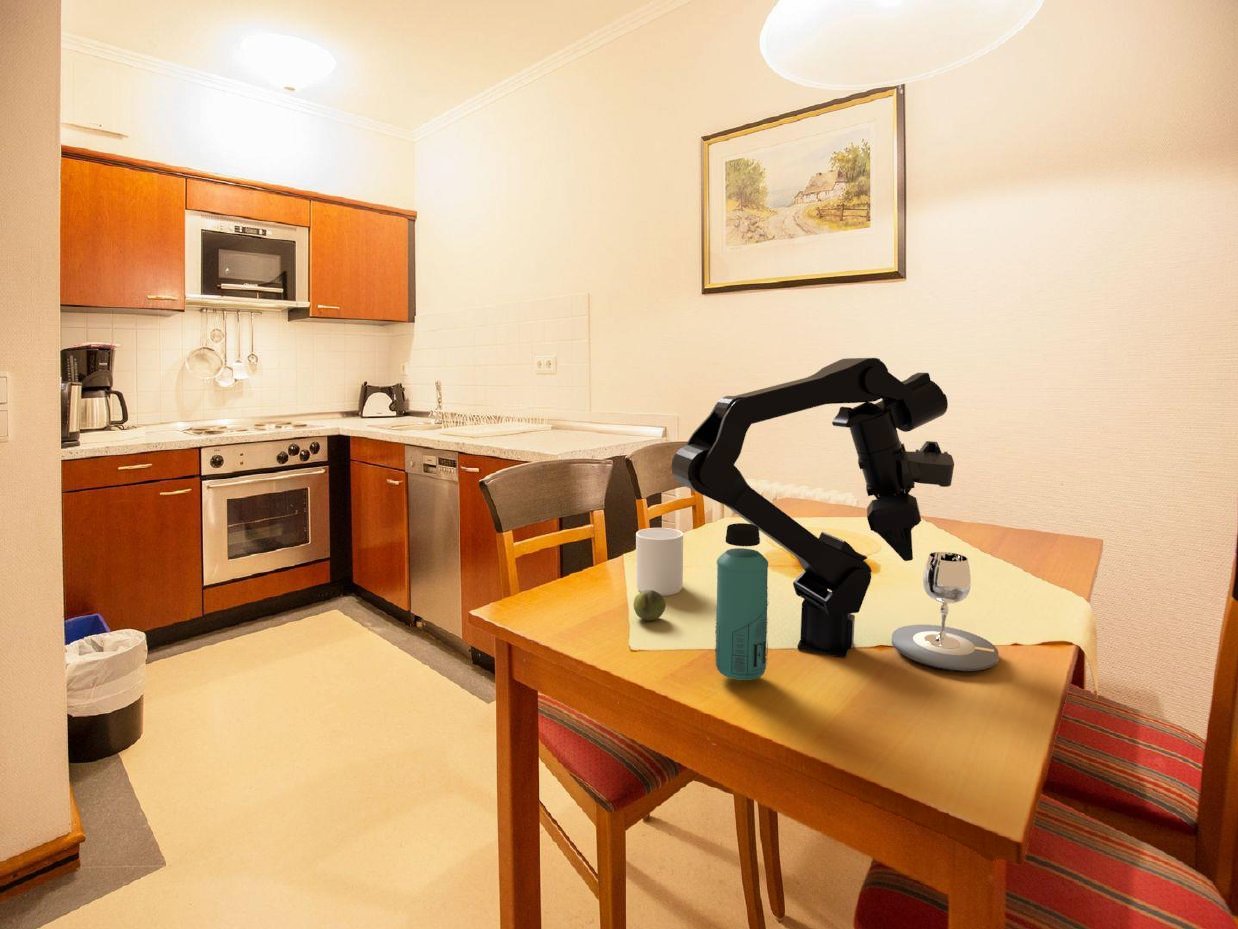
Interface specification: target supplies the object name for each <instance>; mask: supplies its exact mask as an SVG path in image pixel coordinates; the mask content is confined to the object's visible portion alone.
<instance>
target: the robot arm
mask: <svg viewBox="0 0 1238 929" xmlns="http://www.w3.org/2000/svg"><path fill="white" fill-rule="evenodd" d="M879 400H880V401H879ZM874 402H876V403H874ZM859 403H860V404H859ZM832 404H836V405H837V404H858V405H855V406H854V407H850V406H849V407H848V406H840V407H839V409H838V410H839V411H838V413H837V414H836V416H835V417H834V419H833V420H832V423H831V424H832V426H833V427H839V428H848V429H849V431H850V434H851V438H852V441H853V443H854V448H855V450H856V454H857V458H858V460H857V463H858V467H859V469H860V470H861V471H862V474H863V479H864V481H865V484H866V486H865V487H866V489H865V490H866V493H867V496H868V497H871V496H874V498H875V499H872V500H871V501H870V503H869V504H868V506H867V507H866V519H867V522H868V525H869V529H870V531H873V532H874V533H877V534H878V536H880V538H882V539H883V540H884V541H885V542H886V543H887V544H888V546H890V548H891V549H893V551H894V552H895V553H896V554H897V555H898V556H899V557H900V558H901V559H902V560H903V561H904V562H910V561H913V559H914V558H913V557H914V556H913V538H912V530H913V529H914V527H916V526H918V525H919V524H920V523H921V522H922V516H921V511H920V508H919V504H918V500H917V497H916V496H914V495H912V494H910V492H911V491H912V489H915V487H916V486H915V483H917V484H924V485H937V486H939V487H943V488H948V487H951V486H952V481H953V476H954V475H953V474H954V469H955V468H954V467H955V461H954V458H953V456H952V455H951V454H949V453H948V451H943V452H942V450H941V447H940V445H939V444H938V441H930V440H929V441H925V442H924V443H923V444H922V445H921V448H920V449H915V451H909V450H906V447H905V443H902V441H901V440H900V437H899V434H898V430H899V431H902V432H904V433H905V432H906V433H907V432H910V431H912V430H915V429H917V428H920V427H922V426H924V425H925V424H928V423H930V422H932V421H935V420H937V419H938V418H940V417H942V416H944V415H945V414H946V412H947V411H948V405H949V403H948V398H947V395H946V394H945V393H944V392H943V389H942V388H941V387H940V386H939V385H938V384H937V383H936V382H934V381H933V380H931V376H930V373H929V372H917V373H914V374H912V375H911V376H909V377H908V378H906V379H904V380H902V381H901V380H900V379H899V378H897V377H896V376H895V375H893V374H892V373H891V372H890V371H889V369H888V367H887V365H886V364H885V363H884V362H883V361H882V360H881V359H880V358H878V357H858V358H857V357H856V358H855V357H853V358H852V357H851V358H850V357H849V358H848V357H846V358H841V359H839V360H836V361H834V362H832V363H831V364H828V365H826V366H823V367H822V368H821V369H820V370H818V371H817V372H815V373H814V374H812V375H810V376H809V375H808V376H807V377H803V378H799V379H795V380H792V381H788V382H784V383H783V382H782V383H780V384H776V385H771V386H768V387H765V388H761V389H756V390H753V391H750V392H744V393H741V394H737V395H725V396H723V397H721V398H720V399H718V401H716V404H715V405H714V406H713V408H712V410H711V412H710V413H709V415H708V416H707V417H706V418H705V420H703V421H702V423H701V424H700V425H699V426H698V427H697V428H696V429H695V430H694V432H693V433H692V434H691V435H690V437H689V439H688V440H687V442H686V444H685V445H684V446H682V447H680V448H679V449H678V450H677V451H676V452H675V454H674V455H673V458H672V459H671V460H672V462H671V475H672V477H673V479H674V480H675V481H676V482H677V484H678V483H679V484H680V485H682V486H684V487H685V488H687V489H689V490H692V491H694V492H697V493H698V494H701V495H702V496H705V497H707V498H709V499H711V500H713V501H715V502H717V503H720V504H722V505H724V506H725V507H727V508H728V509H729V510H730V511H732V512H734V513H735V514H737V515H738V516H739V517H740V518H742V519H743V520H744V521H746V522H747V523H748V524H752V525H756V526H758V527H759V532H761V533H763V534H764V535H765V536H767V537H768V538H769V539H771V540H772V541H774V542H775V543H776V544H777V545H779V547H782V548H783V549H785V550H786V551H787V552H788V553H790V554H791V555H793V556H794V557H795V558H796V560H797V561H798V563H799V564H800V566H801V568H802V569H803V570H802V572H801V573H800V574H799V575H798V576H797V578H796V579H795V580H794V581H793V582H792V585H793V589H794V592H795V594H796V596H798V597H800V598H802V599H803V601H802V603H801V613H800V614H801V615H800V617H801V618H800V639H799V641H798V643H797V645H796V646H797V647H796V648H797V649H798V650H800V651H806V652H812V653H816V654H821V655H827V656H833V657H839V658H847V656H848V652H849V650H851V649H852V648H853V646H854V645H853V644H854V641H855V640H854V638H855V622H856V619H855V618H856V617H855V614H856V613H857V614H859V612H860V609H861V607H862V605H863V602H864V600H865V597H866V594H867V591H868V589H869V587H870V584H871V579H872V572H873V571H872V567H871V566H870V564H868V563H867V562H866V561H865V560H867V559H868V556H867V555H864V554H862V553H859V552H858V551H856V550H855V548H853V547H852V545H851V544H850V543H848V541H845V540H843V539H841V538H838V537H836V536H835V535H832V534H829V533H827V532H824V531H821V532H820V535H819V537H817V536H816V535H814V534H813V533H812V532H811V531H809V530H808V529H807V528H805V527H804V526H803V525H801V524H800V523H798V521H796V520H794V518H792V517H790V516H789V515H788V514H787V513H785V512H784V511H783V510H781V509H780V508H779V507H778V506H776V505H775V504H773V503H772V502H771V501H769V500H768V499H767V498H765V497H764V496H763V495H761V494H760V493H759V492H757V490H755V489H753V488H752V487H751V486H750V485H749V484H748V482H747V480H746V479H745V477H744V476H743V474H742V473H741V471H740V470H739V468H737V466H735V465H736V464H735V463H736V462H737V460H738V459H739V457H740V455H741V452H742V450H743V446H744V443H745V439H746V436H747V433H748V430H749V429H750V427H751V425H753V424H757V423H760V422H765V421H767V420H772V419H776V418H779V417H784V416H787V415H789V414H795V413H798V412H802V411H805V410H809V409H814V408H817V407H821V406H824V405H832ZM897 429H898V430H897Z"/></svg>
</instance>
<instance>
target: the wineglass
mask: <svg viewBox="0 0 1238 929" xmlns="http://www.w3.org/2000/svg"><path fill="white" fill-rule="evenodd" d="M970 568H971V567H970V563H969V559H968V557H967V556H964V555H963V554H960V553H955V552H948V551H934V552H931V553H929V554H928V557H927V560H926V563H925V566H924V570H923V576H922V583H923V584H922V585H923V589H924V592H925V593H926V594H927V596H929V597H930V598H931V599H933V600H935V601H936V602H939V603H941V606H940V607H939V609H940V614H941V625H940V626H941V631H940V633H939V634H930V635H927V636H925V637H924V640H925V641H926V642H927V643H929V644H931V645H933V646H936V647H941V648H957V647H959V646H960V642H959V641H958V640H956V639H955V638H952V637H949V636H947V635H946V633H945V627H946V621H947V618H948V617H947V616H948V614H949V606H948V604H955V603H959V602H961V601H963V600H965V599H966V598H967V596H968V595H969V593H970V591H971V587H972V575H971V569H970Z"/></svg>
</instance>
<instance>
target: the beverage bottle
mask: <svg viewBox="0 0 1238 929" xmlns="http://www.w3.org/2000/svg"><path fill="white" fill-rule="evenodd" d="M725 533H726V535H725V543H726V544H728V545H731V546H736V547H737V548H729V549H727V550H726V551H724V552H723V553H722V554H721V555H719V557H717V560H716V565H717V566H716V567H717V568H716V572H717V574H716V580H717V581H716V606H715V607H716V608H715V612H716V613H715V621H716V622H715V627H714V628H715V633H714V634H715V635H714V637H715V639H714V640H715V644H714V648H715V649H714V652H715V655H714V656H715V658H714V660H715V666H716V669H717V671H718V672H719V673H720V674H721V675H722V676H725V677H727V678H729V679H732V680H733V679H734V680H739V681H750V680H751V681H752V680H755V679H759V678H761V677H762V676H764V674H765V672H766V669H767V664H768V657H767V656H768V651H769V650H768V648H769V645H768V644H769V640H768V635H767V634H768V631H769V630H768V629H769V628H768V624H769V620H768V606H769V604H770V602H769V599H770V598H769V593H770V592H769V590H768V589H769V587H768V578H769V577H768V574H769V573H768V569H769V568H768V567H769V561H768V559H767V558H766V557H765V556H764V555H762V553H760V552H759V550H755V549H752V548H743V547H755V546H758V545H759V544H761V538H760V530H759V527H758V526H756V525H752V524H750V523H742V522H741V523H739V522H736V523H730V524H728V525H727V527H726V532H725ZM738 547H741V548H738ZM768 592H769V593H768ZM768 598H769V599H768Z"/></svg>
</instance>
